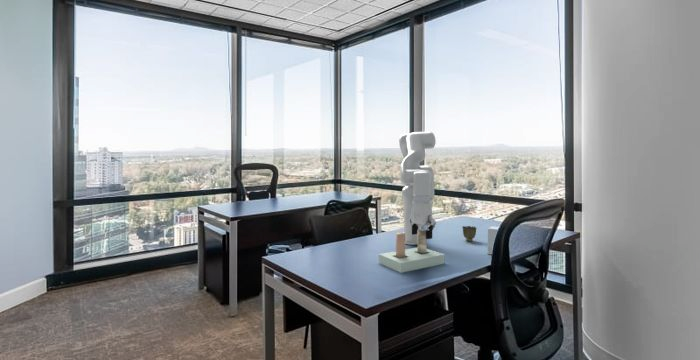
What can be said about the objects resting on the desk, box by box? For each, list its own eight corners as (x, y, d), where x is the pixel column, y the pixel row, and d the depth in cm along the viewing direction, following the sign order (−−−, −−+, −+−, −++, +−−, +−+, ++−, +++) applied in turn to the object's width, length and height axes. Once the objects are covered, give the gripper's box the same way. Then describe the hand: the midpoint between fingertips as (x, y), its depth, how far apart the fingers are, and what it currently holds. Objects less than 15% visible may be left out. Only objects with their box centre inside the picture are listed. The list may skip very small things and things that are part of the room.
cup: (477, 242, 205) (477, 228, 204) (463, 242, 206) (463, 228, 205) (475, 239, 212) (475, 225, 211) (461, 239, 213) (461, 225, 213)
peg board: (378, 265, 168) (378, 254, 167) (420, 257, 179) (420, 246, 179) (400, 275, 154) (400, 263, 153) (444, 265, 165) (444, 254, 165)
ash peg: (415, 260, 170) (415, 230, 169) (422, 259, 172) (422, 229, 171) (421, 262, 167) (421, 231, 165) (428, 261, 169) (428, 230, 167)
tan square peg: (394, 264, 164) (393, 233, 163) (401, 263, 166) (401, 232, 165) (399, 267, 161) (399, 235, 160) (407, 265, 163) (406, 233, 162)
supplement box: (503, 256, 178) (503, 230, 177) (487, 254, 182) (487, 228, 181) (506, 252, 185) (506, 227, 184) (490, 250, 188) (490, 225, 187)
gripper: (403, 197, 173) (403, 233, 175) (428, 202, 158) (428, 241, 160) (416, 195, 177) (416, 231, 179) (441, 200, 162) (441, 239, 163)
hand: (421, 236), depth 169 cm, fingers open, 9 cm apart
